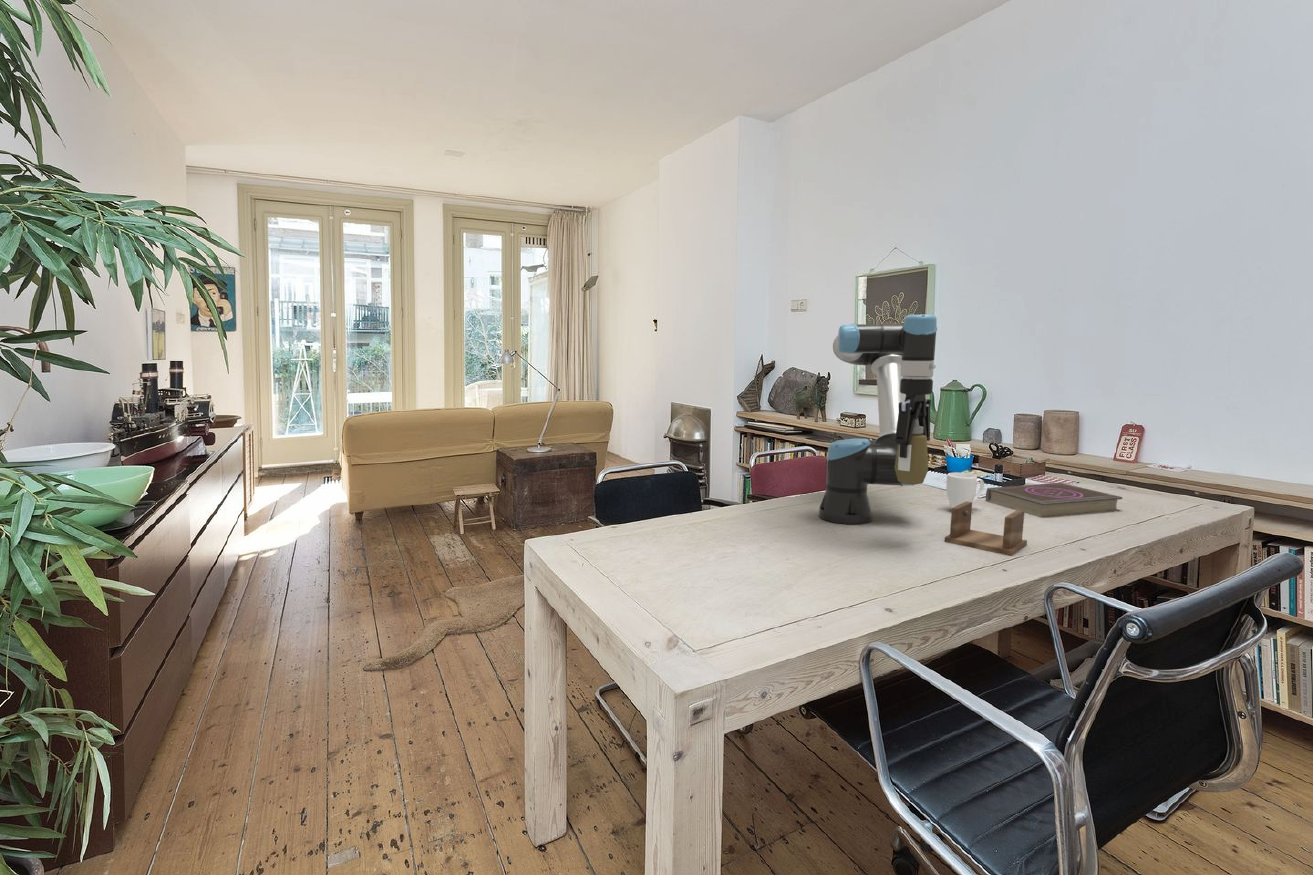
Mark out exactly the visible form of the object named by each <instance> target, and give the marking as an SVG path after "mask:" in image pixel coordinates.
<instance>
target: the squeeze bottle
mask: <svg viewBox="0 0 1313 875" xmlns="http://www.w3.org/2000/svg"><path fill="white" fill-rule="evenodd" d="M922 434H923V427H922V426H919V421H918V418H917V419H916V420H915V423H914V427H913V431H912V436H911V440H910V444H909V445H911V460H910V471H902V470H898V460H899V444H898V449H897V455H896V461H895V471H896V475H897V478H898V481H899V482H901V483H905V484H916V485H921V484H923V483H924V481H925V478H926V477H927V473H928V472H929V456H928V441H927V437H926V436H925V435H922Z"/></svg>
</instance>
